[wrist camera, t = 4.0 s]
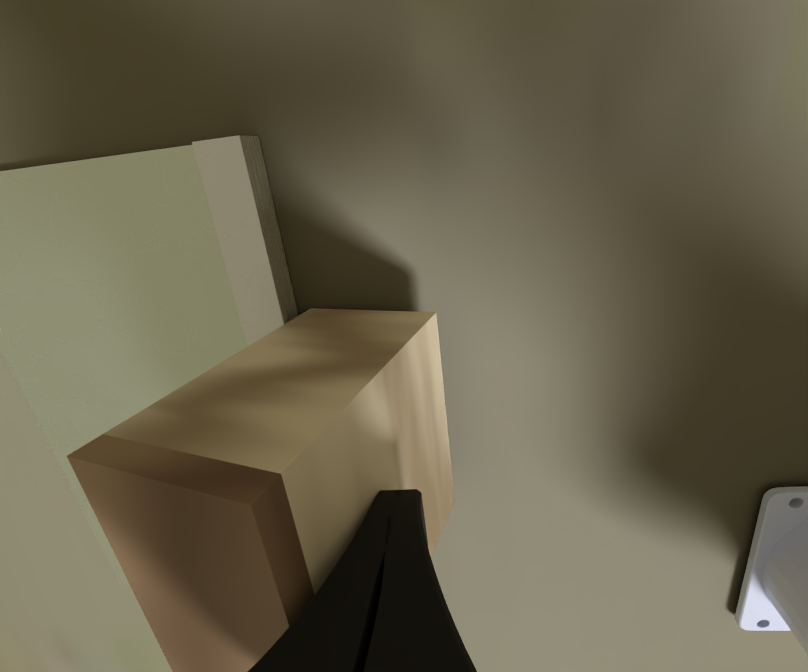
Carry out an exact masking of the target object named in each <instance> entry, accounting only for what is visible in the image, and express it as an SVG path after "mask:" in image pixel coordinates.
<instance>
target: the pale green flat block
mask: <svg viewBox="0 0 808 672" xmlns="http://www.w3.org/2000/svg"><path fill="white" fill-rule="evenodd" d="M297 316H298V312H297V307H296V303H295V298H294V294H293V289H292V285H291V280H290V276H289V271H288V267H287V262H286V258H285V253H284V249H283V244H282V239H281V235H280V230H279V226H278V221H277V217H276V212H275V208H274V203H273V199H272V194H271V190H270V185H269V181H268V176H267V172H266V167H265V163H264V158H263V154H262V149H261V145H260V140H259V136H243V135H238V136H231V137H224V138H217V139H209V140H202V141H195V142H192V145H186V146H179V147H172V148H165V149H157V150H150V151H143V152H136V153H129V154H121V155H114V156H107V157H100V158H93V159H85V160H78V161H71V162H64V163H56V164H49V165H42V166H35V167H28V168H20V169H13V170H6V171H0V349H1V351H2V353H3V355H4V357H5V359H6V361H7V363H8V365H9V367H10V369H11V371H12V373H13V375H14V377H15V379H16V381H17V383H18V385H19V387H20V389H21V391H22V393H23V395H24V397H25V399H26V401H27V403H28V405H29V407H30V409H31V411H32V413H33V415H34V416H35V418H36V420H37V422H38V424H39V426H40V428H41V430H42V432H43V434H44V436H45V438H46V440H47V442H48V444H49V446H50V448H51V450H52V452H53V454H54V456H55V458H56V460H57V462H58V464H59V466H60V468H61V470H62V472H63V474H64V476H65V478H66V480H67V482H68V484H69V486H70V488H71V490H72V492H73V494H74V496H75V498H76V500H77V502H78V504H79V505H80V507H81V509H82V511H83V513H84V515H85V517H86V519H87V521H88V523H89V525H90V527H91V529H92V531H93V533H94V535H95V537H96V539H97V541H98V543H99V545H100V547H101V549H102V551H103V553H104V555H105V557H106V559H107V561H108V563H109V565H110V567H111V569H112V571H113V573H114V575H115V577H116V579H117V581H118V583H119V584H129V582H128V580H127V578H126V576H125V574H124V572H123V570H122V568H121V566H120V564H119V562H118V560H117V558H116V556H115V553H114V551H113V549H112V547H111V545H110V543H109V541H108V539H107V537H106V535H105V533H104V531H103V529H102V527H101V525H100V523H99V521H98V519H97V517H96V515H95V513H94V511H93V509H92V507H91V505H90V503H89V501H88V499H87V497H86V495H85V493H84V491H83V489H82V487H81V485H80V483H79V480H78V478H77V476H76V474H75V472H74V470H73V468H72V466H71V464H70V462H69V460H68V458H67V455H69V454H71V453H72V452H74V451H76V450H77V449H79V448H81V447H82V446H84V445H86V444H87V443H89V442H91V441H92V440H94V439H96V438H97V437H99V436H100V435H102V434H104V433H105V432H107V431H109V430H110V429H112V428H114V427H115V426H117V425H119V424H120V423H122V422H124V421H125V420H127V419H129V418H130V417H132V416H134V415H135V414H137V413H139V412H140V411H142V410H143V409H145V408H147V407H148V406H150V405H152V404H153V403H155V402H157V401H158V400H160V399H162V398H163V397H165V396H167V395H168V394H170V393H172V392H173V391H175V390H177V389H178V388H180V387H181V386H183V385H185V384H186V383H188V382H190V381H191V380H193V379H195V378H196V377H198V376H200V375H201V374H203V373H205V372H206V371H208V370H210V369H211V368H213V367H215V366H216V365H218V364H219V363H221V362H223V361H224V360H226V359H228V358H229V357H231V356H233V355H234V354H236V353H238V352H239V351H241V350H243V349H244V348H246V347H248V346H249V345H251V344H253V343H254V342H256V341H257V340H259V339H261V338H262V337H264V336H266V335H267V334H269V333H271V332H272V331H274V330H276V329H277V328H279V327H281V326H282V325H284V324H286V323H287V322H289V321H291V320H292V319H294V318H295V317H297Z"/></svg>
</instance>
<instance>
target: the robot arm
mask: <svg viewBox="0 0 808 672" xmlns="http://www.w3.org/2000/svg"><path fill="white" fill-rule="evenodd" d="M794 498H795V499H794ZM792 499H793V500H792ZM735 620H736V622H737V623H738V625H739V626H740V627H741V628H742V629H744V630H774V631H792V633H793V634H794V636H795V637H796V638H797V640H798V641H799V643H800V644H801V645H802V647H803V648H804V650H805V651H806V652H807V654H808V486H805V487H777V488H772V489H770V490H768V491H767V492H766V493H765V494H764V496H763V498H762V503H761V507H760V511H759V515H758V520H757V524H756V528H755V532H754V537H753V541H752V545H751V549H750V554H749V558H748V562H747V567H746V571H745V575H744V579H743V584H742V588H741V592H740V596H739V601H738V605H737V609H736V613H735ZM248 672H477V671H476V669H475V667H474V665H473V663H472V661H471V659H470V657H469V655H468V653H467V651H466V648H465V646H464V644H463V642H462V640H461V637H460V635H459V633H458V631H457V628H456V626H455V624H454V621H453V619H452V616H451V614H450V611H449V609H448V607H447V604H446V601H445V599H444V596H443V593H442V591H441V588H440V585H439V582H438V579H437V576H436V573H435V570H434V567H433V564H432V560H431V557H430V553H429V549H428V540H427V532H426V524H425V517H424V509H423V501H422V494H421V492H420V491H419V490H417V489H405V490H380V491H379V493H378V494H377V496H376V497H375V499H374V501H373V503H372V505H371V507H370V509H369V510H368V512H367V514H366V516H365V518H364V520H363V521H362V523H361V525H360V527H359V529H358V530H357V532H356V534H355V535H354V537H353V539H352V540H351V542H350V544H349V545H348V547H347V548H346V550H345V552H344V553H343V555H342V556H341V558H340V560H339V561H338V563H337V564H336V565H335V567H334V568H333V570H332V571H331V573H330V574H329V576H328V577H327V579H326V580H325V581H324V583H323V584H322V586H321V587H320V588H319V590H318V591H317V593H316V594H315V595H314V597H313V598H312V599H311V600H310V602H309V603H308V604H307V606H306V607H305V608H304V609H303V611H302V612H301V613H300V614H299V616H298V617H297V618H296V619H295V620H294V622H293V623H292V624H291V625H290V626H289V627H288V629H287V630H286V631H285V632H284V633H283V634H282V635H281V637H280V638H279V639H278V640H277V641H276V642H275V643H274V645H273V646H272V647H271V648H270V649H269V650H268V651H267V652H266V653H265V654H264V655H263V656H262V658H261V659H260V660H259V661H258V662H257V663H256V664H255V665H254V666H253V667H252V668H251V669H250V670H249V671H248Z"/></svg>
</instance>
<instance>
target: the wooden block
mask: <svg viewBox="0 0 808 672" xmlns="http://www.w3.org/2000/svg"><path fill="white" fill-rule="evenodd" d="M67 458H68V460H69V462H70V464H71V466H72V468H73V470H74V472H75V474H76V476H77V478H78V480H79V483H80V485H81V487H82V489H83V491H84V493H85V495H86V497H87V499H88V501H89V503H90V505H91V507H92V509H93V511H94V513H95V515H96V517H97V519H98V521H99V523H100V525H101V527H102V529H103V531H104V533H105V535H106V537H107V539H108V541H109V543H110V545H111V547H112V549H113V551H114V553H115V556H116V558H117V560H118V562H119V564H120V566H121V568H122V570H123V572H124V574H125V576H126V578H127V580H128V582H129V584H130V586H131V588H132V590H133V592H134V594H135V596H136V598H137V600H138V602H139V604H140V606H141V608H142V610H143V612H144V614H145V616H146V618H147V620H148V622H149V624H150V626H151V629H152V631H153V633H154V635H155V637H156V639H157V641H158V643H159V645H160V647H161V649H162V651H163V653H164V655H165V657H166V659H167V661H168V663H169V665H170V667H171V669H172V671H173V672H248V671H249V670H250V669H251V668H252V667H253V666H254V665H255V664H256V663H257V662H258V661H259V660H260V659H261V658H262V656H263V655H264V654H265V653H266V652H267V651H268V650H269V649H270V648H271V647H272V646H273V645H274V643H275V642H276V641H277V640H278V639H279V638H280V637H281V635H282V634H283V633H284V632H285V631H286V630H287V629H288V627H289V626H290V625H291V624H292V623H293V622H294V620H295V619H296V618H297V617H298V616H299V614H300V613H301V612H302V611H303V609H304V608H305V607H306V606H307V604H308V603H309V602H310V600H311V599H312V598H313V597H314V595H315V594H316V593H317V591H318V590H319V588H320V587H321V586H322V584H323V583H324V581H325V580H326V579H327V577H328V576H329V574H330V573H331V571H332V570H333V568H334V567H335V565H336V564H337V563H338V561H339V560H340V558H341V556H342V555H343V553H344V552H345V550H346V548H347V547H348V545H349V544H350V542H351V540H352V539H353V537H354V535H355V534H356V532H357V530H358V529H359V527H360V525H361V523H362V521H363V520H364V518H365V516H366V514H367V512H368V510H369V509H370V507H371V505H372V503H373V501H374V499H375V497H376V496H377V494H378V493H379V491H380V490H405V489H417V490H419V491H420V492H421V494H422V501H423V509H424V517H425V524H426V532H427V540H428V549H429V553H430V557H431V555H432V553H433V550H434V548H435V546H436V543H437V541H438V539H439V536H440V534H441V532H442V530H443V527H444V525H445V523H446V520H447V518H448V516H449V513H450V511H451V509H452V507H453V504H454V502H455V500H454V490H453V480H452V469H451V459H450V449H449V438H448V428H447V418H446V408H445V397H444V387H443V377H442V367H441V356H440V346H439V336H438V325H437V315H436V312H409V311H378V310H348V309H318V308H310V309H309V310H307V311H305V312H304V313H302V314H300V315H299V316H297V317H295V318H294V319H292V320H291V321H289V322H287V323H286V324H284V325H282V326H281V327H279V328H277V329H276V330H274V331H272V332H271V333H269V334H267V335H266V336H264V337H262V338H261V339H259V340H257V341H256V342H254V343H253V344H251V345H249V346H248V347H246V348H244V349H243V350H241V351H239V352H238V353H236V354H234V355H233V356H231V357H229V358H228V359H226V360H224V361H223V362H221V363H219V364H218V365H216V366H215V367H213V368H211V369H210V370H208V371H206V372H205V373H203V374H201V375H200V376H198V377H196V378H195V379H193V380H191V381H190V382H188V383H186V384H185V385H183V386H181V387H180V388H178V389H177V390H175V391H173V392H172V393H170V394H168V395H167V396H165V397H163V398H162V399H160V400H158V401H157V402H155V403H153V404H152V405H150V406H148V407H147V408H145V409H143V410H142V411H140V412H139V413H137V414H135V415H134V416H132V417H130V418H129V419H127V420H125V421H124V422H122V423H120V424H119V425H117V426H115V427H114V428H112V429H110V430H109V431H107V432H105V433H104V434H102V435H100V436H99V437H97V438H96V439H94V440H92V441H91V442H89V443H87V444H86V445H84V446H82V447H81V448H79V449H77V450H76V451H74V452H72V453H71V454H69V455H67Z"/></svg>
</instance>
